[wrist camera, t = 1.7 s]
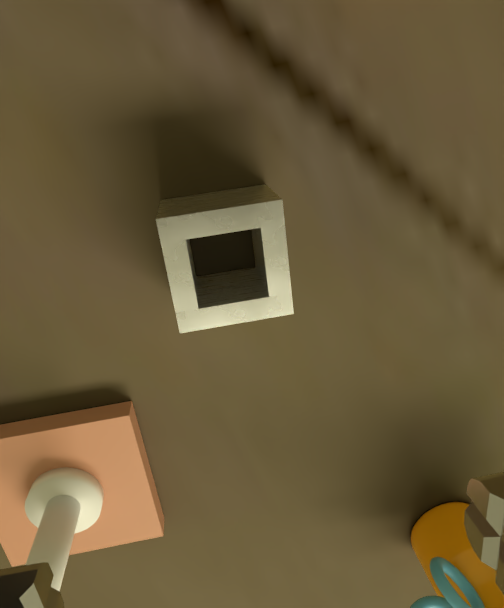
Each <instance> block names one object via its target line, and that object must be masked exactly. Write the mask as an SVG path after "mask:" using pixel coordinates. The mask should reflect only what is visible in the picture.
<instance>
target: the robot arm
mask: <svg viewBox="0 0 504 608" xmlns="http://www.w3.org/2000/svg"><path fill="white" fill-rule="evenodd" d="M467 495H468V496H469V498H470V499H471V500H472V502H471V503H470V505H469V506H468V507H467V508H466V510H465V515H464V525H465V529H466V533H467V537H468V540H469V542H470V544H471V546H472V548H473V550H474V552H475V553H476V555H477V556H478V558H479V559H480V561H481V562H483V563H485V564H486V565H488V566H490V567H491V568H493V569H495V570H496V581H495V583H496V584H497V586H498V587H499V589H500V590H501V591H502V593H503V594H504V472H500V473H495V474H490V475H485V476H480V477H476V478H471V480H470V481H469V483H468V486H467ZM53 576H54V575H53V572H52V570H51V568H50V565H49V563H47V562H42V563H36V564H30V565H24V566H18V567H12V568H6V569H0V608H64V602H63V599H62V596H61V593H60V592H59V591H58V590H56V589H54V588H52V587H51V584H52V580H53Z"/></svg>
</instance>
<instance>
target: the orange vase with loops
mask: <svg viewBox="0 0 504 608" xmlns="http://www.w3.org/2000/svg"><path fill="white" fill-rule="evenodd" d="M469 505H470V504H468V503H463V502H449V503H445V504H441V505H439V506H436V507H434V508H432V509H431V510H429V511H427V512H426V513H425V514H424V515H422V516H421V517H420V519H419V520H418V521H417V522H416V524H415V525H414V527H413V529H412V532H411V544H412V547H413V549H414V551H415V553H416V555H417V557H418V559H419V561H420V563H421V565H422V567H423V569H424V571H425V573H426V575H427V577H428V579H429V580H430V582H431V584H432V586H433V588H434V590H435V592H436V593H437V595H438V596H426V597H423V598H420V599H418V600H417V601H415V602H414V603H413V604H412V605H411V607H410V608H504V594H503V593H502V591H501V590H500V589H499V587H498V586H497V584H496V583H495V581H496V570H495V569H493V568H491V567H490V566H488V565H486V564H485V563H483V562H481V561H480V559H479V558H478V556H477V555H476V553H475V552H474V550H473V548H472V546H471V544H470V542H469V540H468V537H467V533H466V529H465V525H464V515H465V510H466V508H467V507H468V506H469Z"/></svg>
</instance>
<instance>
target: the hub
mask: <svg viewBox="0 0 504 608" xmlns="http://www.w3.org/2000/svg"><path fill="white" fill-rule="evenodd" d="M156 223H157V228H158V233H159V237H160V242H161V247H162V251H163V256H164V261H165V266H166V270H167V275H168V280H169V284H170V289H171V294H172V299H173V303H174V308H175V313H176V317H177V322H178V327H179V332H180V333H185V332H191V331H197V330H202V329H208V328H214V327H220V326H226V325H231V324H237V323H243V322H249V321H255V320H260V319H266V318H272V317H278V316H284V315H289V314H294V312H293V302H292V292H291V282H290V272H289V262H288V252H287V242H286V232H285V222H284V212H283V202H282V199H281V198H280V197H279V196H278V195H277V194H276V193H275V192H274V191H273V190H272V189H271V188H269V187H268V186H267V185H266V184H263V185H256V186H250V187H243V188H236V189H230V190H223V191H217V192H210V193H203V194H197V195H190V196H184V197H177V198H171V199H164V200H161V201H160V205H159V208H158V212H157V216H156ZM250 229H251V234H252V241H253V249H254V257H255V265H256V267H252V268H246V269H240V270H234V271H228V272H222V273H216V274H210V275H204V276H198V277H196V271H195V266H194V261H193V255H192V250H191V244H190V239H193V238H199V237H206V236H212V235H218V234H225V233H231V232H237V231H243V230H250Z"/></svg>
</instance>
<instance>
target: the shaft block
mask: <svg viewBox="0 0 504 608" xmlns="http://www.w3.org/2000/svg"><path fill="white" fill-rule="evenodd" d="M163 534H164V515H163V512H162V508H161V504H160V501H159V497H158V493H157V490H156V486H155V483H154V479H153V475H152V472H151V468H150V465H149V461H148V457H147V454H146V450H145V447H144V443H143V439H142V436H141V432H140V428H139V425H138V421H137V418H136V414H135V410H134V407H133V403H132V401H128V402H122V403H117V404H111V405H106V406H100V407H95V408H89V409H84V410H78V411H73V412H67V413H62V414H56V415H51V416H45V417H40V418H34V419H29V420H23V421H18V422H12V423H7V424H1V425H0V543H1V545H2V547H3V549H4V551H5V553H6V555H7V557H8V559H9V561H10V563H11V565H12V567H13V566H18V565H23V564H26V565H30V564H36V563H42V562H47V563H49V565H50V568H51V570H52V572H53V575H54V576H53V580H52V584H51V587H52V588H54V589H56V590H58V591H60V587H61V583H62V579H63V575H64V572H65V568H66V564H67V560H68V556H69V555H72V554H77V553H82V552H87V551H92V550H97V549H101V548H106V547H111V546H116V545H121V544H126V543H131V542H136V541H141V540H146V539H151V538H156V537H161V536H163Z"/></svg>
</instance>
